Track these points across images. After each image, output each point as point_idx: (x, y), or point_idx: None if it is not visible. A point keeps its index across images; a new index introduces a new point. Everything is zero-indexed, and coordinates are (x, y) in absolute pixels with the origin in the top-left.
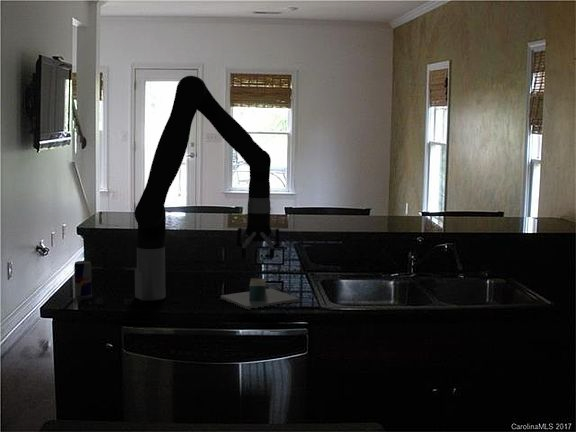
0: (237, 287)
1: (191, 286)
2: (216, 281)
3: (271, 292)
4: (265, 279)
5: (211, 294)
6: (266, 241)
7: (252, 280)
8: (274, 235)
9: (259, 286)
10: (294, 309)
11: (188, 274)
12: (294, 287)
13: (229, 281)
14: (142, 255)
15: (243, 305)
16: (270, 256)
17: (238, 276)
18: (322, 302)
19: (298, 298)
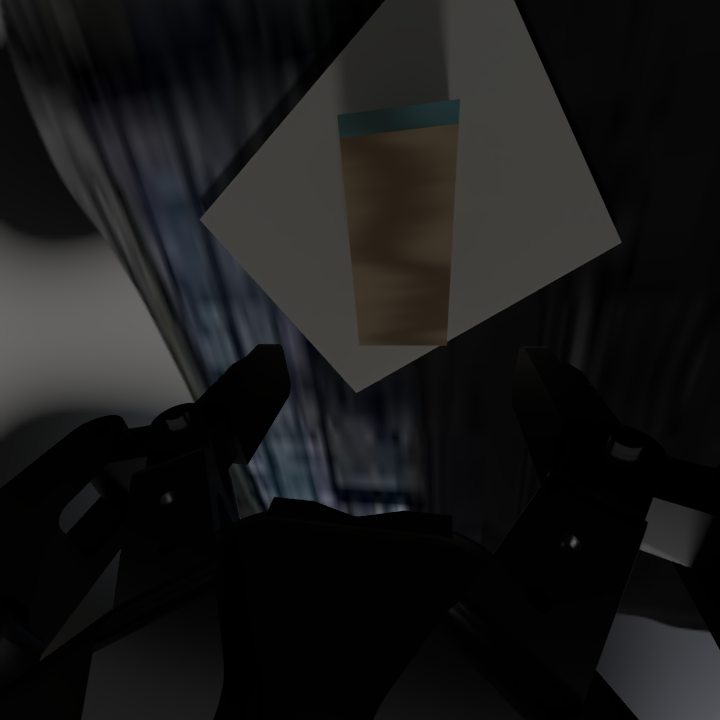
0: (498, 437)
1: (712, 456)
2: None
3: (346, 326)
4: (359, 325)
5: (646, 325)
6: (193, 476)
7: (437, 294)
8: (6, 612)
9: (378, 110)
10: (175, 11)
11: (668, 588)
12: (284, 433)
13: (523, 509)
14: None
15: None
16: (257, 356)
17: None
18: (110, 211)
19: (202, 218)
